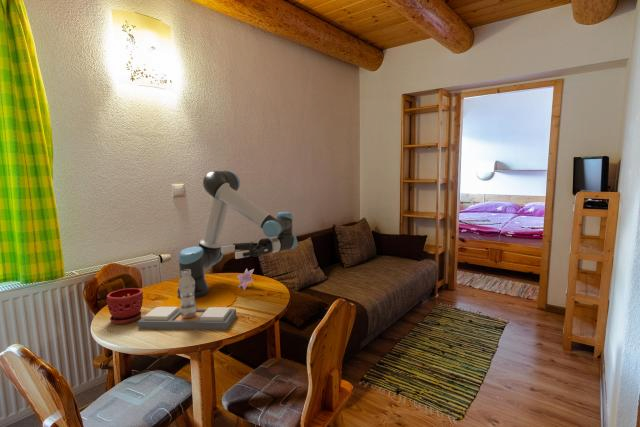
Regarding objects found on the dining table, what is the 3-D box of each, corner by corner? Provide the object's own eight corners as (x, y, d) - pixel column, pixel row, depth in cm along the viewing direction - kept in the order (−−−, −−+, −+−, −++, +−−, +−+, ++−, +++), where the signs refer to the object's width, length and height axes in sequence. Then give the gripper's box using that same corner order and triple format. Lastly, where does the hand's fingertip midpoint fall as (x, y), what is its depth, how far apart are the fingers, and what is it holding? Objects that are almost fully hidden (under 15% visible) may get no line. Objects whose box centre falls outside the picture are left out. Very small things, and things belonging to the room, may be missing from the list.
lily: (238, 285, 186) (231, 273, 181) (257, 275, 189) (251, 263, 184) (243, 298, 176) (236, 286, 171) (263, 287, 179) (256, 275, 174)
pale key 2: (209, 311, 143) (208, 307, 142) (230, 311, 142) (230, 307, 142) (200, 321, 133) (200, 316, 133) (223, 321, 133) (223, 317, 133)
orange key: (183, 316, 143) (183, 312, 143) (204, 316, 143) (204, 312, 143) (172, 326, 134) (172, 321, 134) (195, 326, 134) (195, 322, 133)
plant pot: (140, 323, 137) (138, 296, 136) (104, 328, 134) (101, 299, 132) (147, 311, 150) (145, 285, 148) (114, 314, 146) (112, 288, 145)
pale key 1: (157, 311, 144) (156, 306, 143) (178, 311, 143) (178, 306, 143) (144, 320, 134) (144, 316, 134) (167, 321, 134) (167, 316, 134)
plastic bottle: (200, 314, 140) (198, 268, 138) (189, 321, 134) (186, 273, 131) (188, 312, 142) (185, 267, 140) (176, 319, 136) (173, 272, 133)
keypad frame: (155, 314, 146) (155, 308, 145) (236, 315, 144) (236, 309, 144) (138, 328, 133) (137, 321, 132) (226, 329, 131) (226, 322, 131)
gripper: (283, 258, 152) (242, 267, 138) (255, 248, 171) (216, 255, 157) (283, 242, 151) (241, 249, 137) (255, 234, 170) (215, 239, 156)
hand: (228, 252), depth 147 cm, fingers open, 13 cm apart
